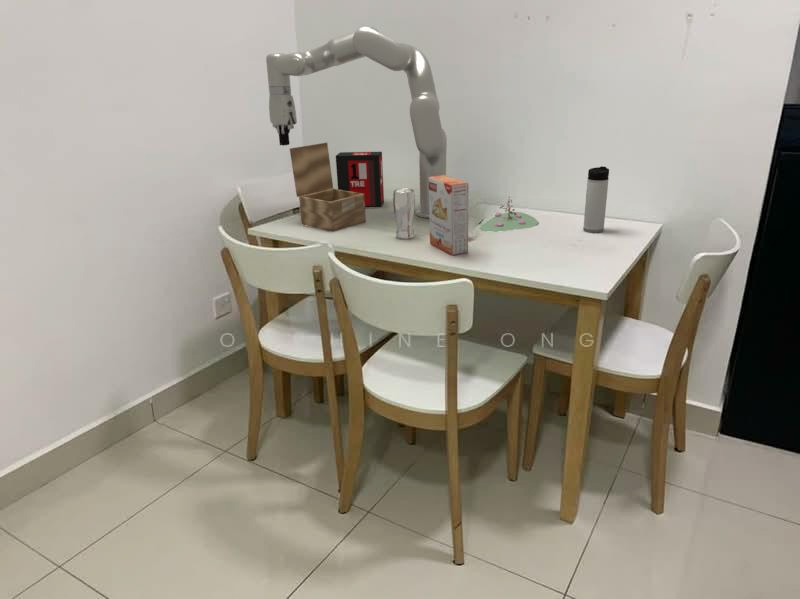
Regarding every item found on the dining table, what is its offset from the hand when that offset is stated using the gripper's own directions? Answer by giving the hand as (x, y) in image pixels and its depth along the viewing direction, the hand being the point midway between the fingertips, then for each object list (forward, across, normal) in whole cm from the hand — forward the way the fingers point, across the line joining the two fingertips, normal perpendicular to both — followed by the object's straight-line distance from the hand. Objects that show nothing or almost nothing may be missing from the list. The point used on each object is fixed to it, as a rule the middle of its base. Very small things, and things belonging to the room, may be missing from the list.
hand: (284, 144), depth 220 cm
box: (+25, -24, 0) cm, 35 cm away
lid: (+7, -14, 0) cm, 16 cm away
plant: (+25, -73, -34) cm, 84 cm away
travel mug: (+24, -101, -43) cm, 112 cm away
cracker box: (+25, -75, 0) cm, 79 cm away
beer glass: (+25, -56, -2) cm, 61 cm away
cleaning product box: (+26, -12, -26) cm, 38 cm away
